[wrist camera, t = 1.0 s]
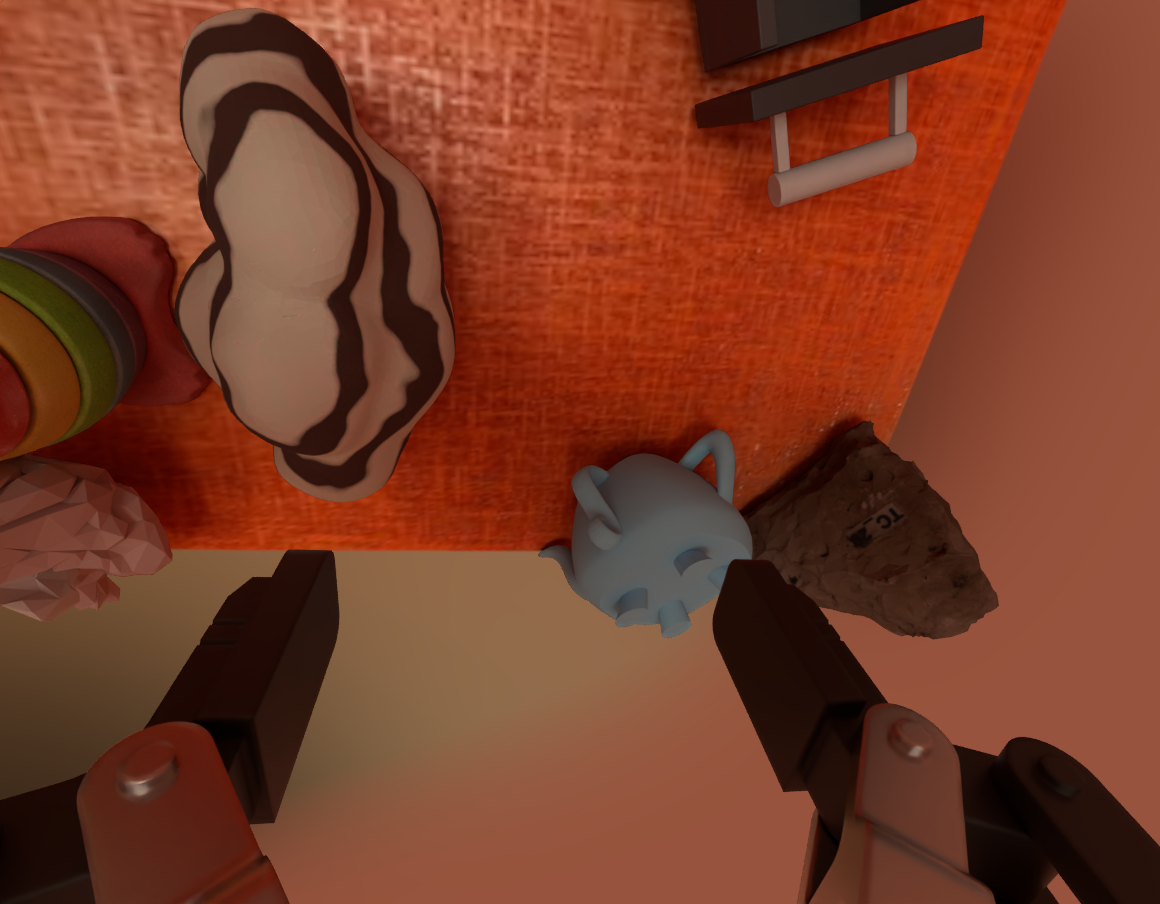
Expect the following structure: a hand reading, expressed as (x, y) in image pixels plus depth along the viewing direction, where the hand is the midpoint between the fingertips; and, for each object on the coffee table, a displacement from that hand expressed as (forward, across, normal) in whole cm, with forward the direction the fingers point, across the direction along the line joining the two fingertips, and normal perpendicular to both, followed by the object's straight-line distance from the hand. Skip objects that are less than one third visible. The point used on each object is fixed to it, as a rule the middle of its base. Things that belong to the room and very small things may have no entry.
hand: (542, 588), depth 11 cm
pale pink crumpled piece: (+19, -20, -16) cm, 32 cm away
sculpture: (+27, -9, +1) cm, 29 cm away
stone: (+22, +21, -12) cm, 32 cm away
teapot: (+17, +12, -16) cm, 26 cm away
